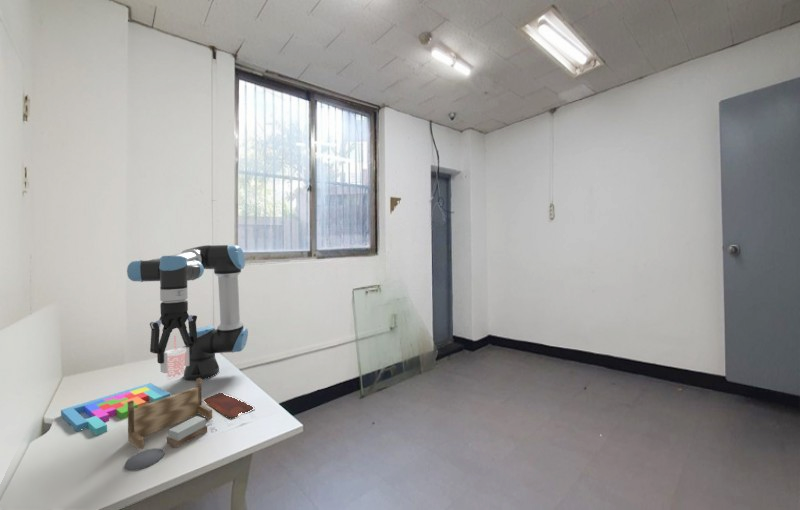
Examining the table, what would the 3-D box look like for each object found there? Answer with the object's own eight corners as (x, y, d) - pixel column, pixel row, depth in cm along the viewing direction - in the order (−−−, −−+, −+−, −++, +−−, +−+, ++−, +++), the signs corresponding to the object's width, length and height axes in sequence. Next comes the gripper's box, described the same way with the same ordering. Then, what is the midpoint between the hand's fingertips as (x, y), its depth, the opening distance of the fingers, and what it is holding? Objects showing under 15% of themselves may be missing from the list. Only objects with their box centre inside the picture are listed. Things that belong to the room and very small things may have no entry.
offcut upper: (196, 423, 109) (196, 415, 109) (205, 425, 107) (205, 418, 107) (169, 437, 101) (168, 429, 101) (178, 440, 99) (178, 432, 99)
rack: (200, 411, 121) (199, 378, 121) (212, 417, 116) (211, 382, 116) (128, 441, 102) (127, 401, 102) (139, 450, 98) (138, 408, 97)
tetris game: (61, 417, 118) (84, 441, 103) (60, 409, 118) (84, 432, 103) (150, 389, 142) (180, 405, 127) (150, 382, 142) (180, 398, 127)
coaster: (156, 446, 99) (156, 444, 99) (169, 456, 95) (169, 454, 95) (119, 463, 92) (119, 461, 92) (132, 474, 87) (132, 472, 87)
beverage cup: (159, 380, 104) (158, 338, 104) (174, 373, 110) (173, 333, 110) (177, 381, 103) (176, 338, 103) (190, 373, 109) (190, 333, 109)
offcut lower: (199, 429, 110) (198, 422, 110) (207, 433, 107) (207, 425, 107) (166, 444, 101) (166, 437, 101) (174, 449, 99) (174, 441, 99)
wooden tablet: (257, 410, 123) (257, 406, 123) (231, 422, 115) (231, 417, 115) (224, 392, 138) (224, 388, 138) (199, 401, 130) (199, 397, 130)
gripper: (146, 306, 96) (148, 381, 96) (209, 297, 113) (210, 361, 113) (134, 304, 99) (135, 376, 100) (196, 296, 116) (197, 358, 117)
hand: (175, 368), depth 107 cm, fingers closed on beverage cup, 6 cm apart
